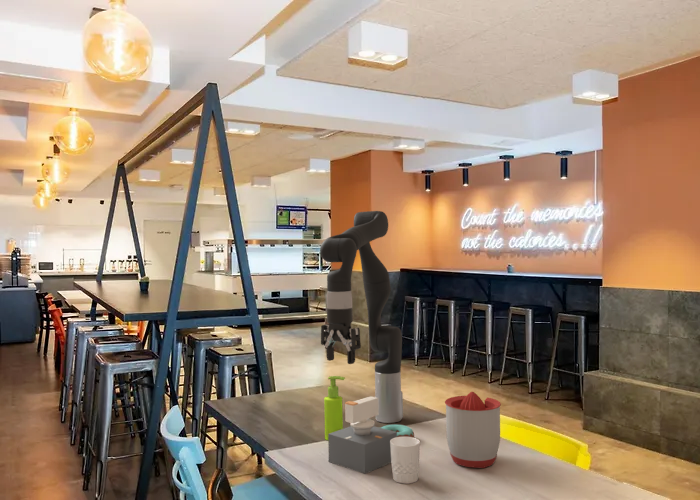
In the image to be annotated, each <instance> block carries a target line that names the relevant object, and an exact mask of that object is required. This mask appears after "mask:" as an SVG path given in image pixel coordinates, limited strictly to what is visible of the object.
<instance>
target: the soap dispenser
mask: <svg viewBox="0 0 700 500" xmlns="http://www.w3.org/2000/svg"><path fill="white" fill-rule="evenodd" d="M327 379H328V380H329V381H330V385H329V386H327V396H325V397H324V398H323V402H324V403H323V407H324V409H323V411H324V412H323V413H324V414H323V415H324V439H325V440H326V441H328V434H330V433H332V432H335V431H338V430H341V429H344V426H343V425H344V421H343V420H344V418H343V417H344V414H343V410H344V409H343V397H342V396H340V395H339V386H337V384H336V383H337V382H336V380H341V381H344V380H345V379H346V377H344V376H341V375H331V376H330V375H329V376H328V378H327Z"/></svg>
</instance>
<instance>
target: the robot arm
mask: <svg viewBox="0 0 700 500" xmlns="http://www.w3.org/2000/svg"><path fill="white" fill-rule="evenodd" d="M353 218H354V219H353V226H352V227H350V228H348V229H346V230H344V231H343V232H342V233H340V234H336V235H332V236H329V237H327V238H326V239H324V240H323V241H322V243H321V244H320V248H319V254H320V256H321V258H322V259H323V261H325V262H327V263H341V266H340V267H339V269H336V270H331V271H329V272H328V273H327V277H326V288H327V289H326V292H327V293H326V322H327V323H328V324H322V325H321V326H320V327H321V328H320V345H321V346H324V347H325V348H326V349H325V350H326V352H325V353H326V359H327V361H334V359H335V347H334V346H335V344H336V343H337V342H339V343H342V344H343V346H345V347H346V350H347V352H346V353H347V354H346V357H347V359H346V361H347V364H348V365H352V364H355V362H356V350H361V344H362V343H361V331H360V329H361V328H360V327H354V328H353V327H352V323H353V319H354V318H353V311H354V310H353V295H352V274H353V269H354V264H355V260H356V257H357V252H358V253H359V258H360V265H361V271H362V281H363V282H362V283H363V289H364V294H365V300H366V302H365V303H366V308H367V320H368V321H367V322H368V338H369V339H368V340H369V344H370V347H371V349H372V350H373V351H374V352H379V353H388V357H387V358H386V359H384V360H380V361H377V362H375V364H374V387H375V389H374V390H375V392H374V393H375V394H374V397H376V398H378V406H379V415H377V416H375V420H376V421H377V422H379V423H383V424H387V423H388V424H391V423H394V424H395V423H397V422H401V421H402V419H403V418H404V409H403V408H404V407H403V406H404V405H403V403H404V402H403V401H404V399H403V397H404V395H403V394H404V393H403V391H402V375H401V370H402V369H401V368H402V353H403V352H402V350H403V348H402V347H403V336H402V330H401V329H400V327H398V326H387V325H386V326H385V325H383V324H382V321H381V319H382V318H381V317H382V316H381V315H382V312H383V310H384V307H385V305H386V304H387V302H388V300H389V298H390V295H391V280H390V274H389V271H388V270H387V268H386V266H385V265H384V264H383V262H382V261H381V260H380V259H379V258H378V256H377V255H376V253H375V252H374V251H373V248H372V246H371V243H370V242H373V241H374V240H376V239H379V238H383V237H385V236H386V235H387V233H388V230H389V220H388V216H387V213H385V212H384V211H381V210H371V211H359V212H356V213H355V215H354V217H353Z"/></svg>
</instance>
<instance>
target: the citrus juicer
mask: <svg viewBox="0 0 700 500" xmlns="http://www.w3.org/2000/svg"><path fill="white" fill-rule="evenodd" d="M444 403H445V411H446V412H445V423H446V424H445V426H446V428H445V429H446V440H447V445H448V449H449V454H450V456H451V459H452V460H453V462H454V463H455V464H457V465H458V466H462V467H466V468H479V469H485V468H487V467H490V466H492V465H494V464H495V461H496V459H497V457H498V452H499V447H500V443H501V442H500V441H501V401H499V400H497V399H495V398H493V397H486V398H485V400H484V402H483V400H482V398H481V397H480V396H479V395H478V394H477V393H475V391H470V392H469V393H468V394H467V395H457V396H451V397H449V398H447V399H445V401H444Z"/></svg>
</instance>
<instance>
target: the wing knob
mask: <svg viewBox="0 0 700 500" xmlns="http://www.w3.org/2000/svg"><path fill="white" fill-rule="evenodd" d="M344 407H345V409H344V413H345V418H344V419H345V422H347V423H350V426H351V427H353V428H357V429H367V428H372V427H374V426H376V425H375V420H374V419H371V418H373V417H376V416H377V415H379V406H378V398H376V397H375V396H367V397H363V398H360V399H357V400H353V401H352V400H348V401H346V402H345V403H344ZM350 426H349V427H350Z"/></svg>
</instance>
